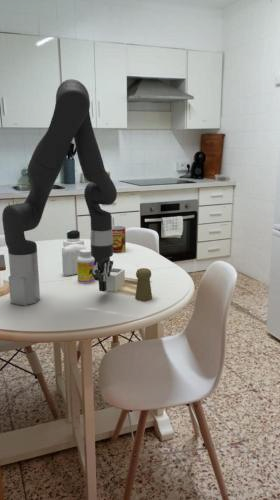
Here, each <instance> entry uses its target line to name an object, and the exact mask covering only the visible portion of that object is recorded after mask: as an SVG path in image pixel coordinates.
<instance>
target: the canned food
mask: <svg viewBox="0 0 280 500" xmlns="http://www.w3.org/2000/svg"><path fill="white" fill-rule="evenodd" d="M112 234H113V254H123V253H125V252H127V251H126V227H125V226H122V225H112Z"/></svg>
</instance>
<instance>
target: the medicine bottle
mask: <svg viewBox="0 0 280 500" xmlns="http://www.w3.org/2000/svg"><path fill="white" fill-rule="evenodd" d="M80 236H81V234H80V231H79V230H77V229H73V230H72V229H71V230H68V231H67V232H66V240H64V241H62V245H63V248H64V247H66V246H68V245H72V244H81V245H85V241H84V240H83V239H81V237H80ZM63 248H62V249H63Z"/></svg>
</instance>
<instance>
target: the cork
mask: <svg viewBox="0 0 280 500" xmlns="http://www.w3.org/2000/svg"><path fill="white" fill-rule="evenodd" d="M135 276H136V279H138V280H137V288H136V296H134V299H135V300H136V301H137V302H138V301H139V302H148V301H151V300H153V294H152V287H151V286H152V285H151V283H150V281H151V278H152V271H151V269H149V268H145V267H144V268H143V267H142V268H139V269H137V270H136V273H135Z"/></svg>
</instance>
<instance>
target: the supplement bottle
mask: <svg viewBox="0 0 280 500" xmlns="http://www.w3.org/2000/svg"><path fill="white" fill-rule="evenodd" d="M94 261H95V259H94V257H92V256H91V248H90V249H89V248H86V249H82V250H80V256H79V257H78V259H77V269H78V274H77V282H78V284H82V285H90V284H93V283H95V282H96V280H95V279H94V277H93V275H92V274H91V272H90V270H91V269H94Z"/></svg>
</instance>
